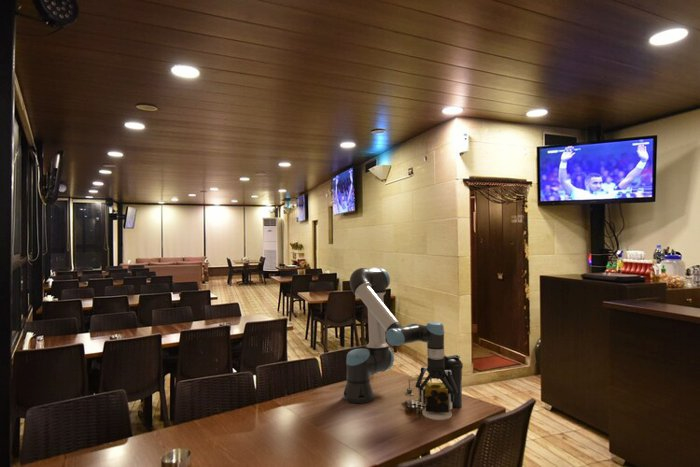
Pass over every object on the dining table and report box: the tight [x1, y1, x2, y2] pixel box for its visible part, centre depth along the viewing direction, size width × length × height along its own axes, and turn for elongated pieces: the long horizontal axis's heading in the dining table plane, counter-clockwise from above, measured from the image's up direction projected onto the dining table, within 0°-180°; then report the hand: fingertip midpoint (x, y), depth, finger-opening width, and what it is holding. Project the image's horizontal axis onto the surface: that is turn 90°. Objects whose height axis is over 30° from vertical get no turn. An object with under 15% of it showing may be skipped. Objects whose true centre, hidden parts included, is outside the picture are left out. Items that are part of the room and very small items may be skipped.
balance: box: [403, 374, 433, 405], centre depth 199 cm, size 16×5×14 cm, turn 59°
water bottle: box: [441, 354, 464, 409], centre depth 197 cm, size 10×10×23 cm
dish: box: [422, 407, 453, 421], centre depth 186 cm, size 13×13×1 cm
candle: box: [424, 382, 449, 413], centre depth 186 cm, size 10×10×10 cm
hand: (436, 406), depth 186 cm, fingers closed on candle, 12 cm apart
